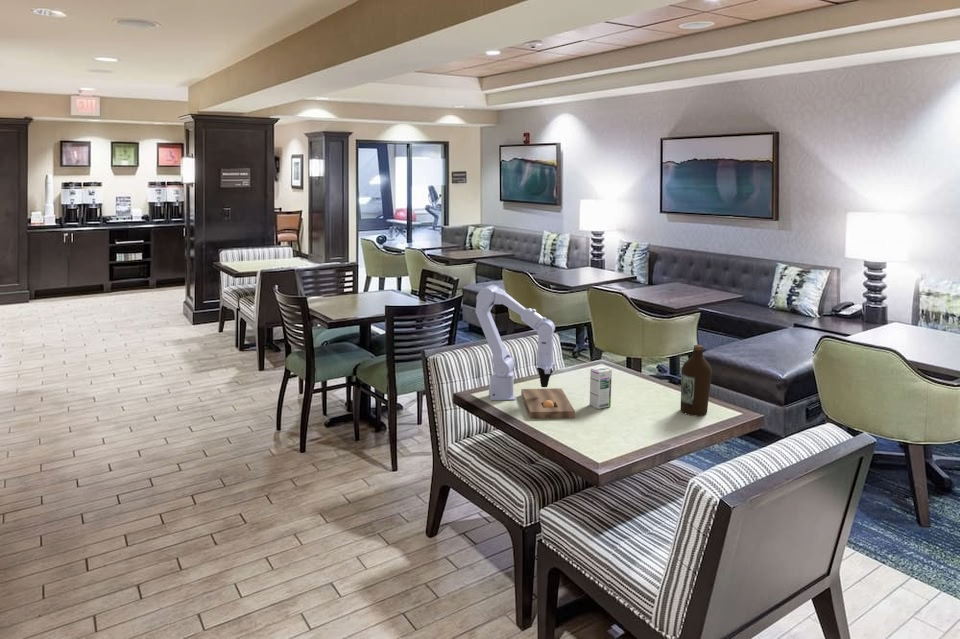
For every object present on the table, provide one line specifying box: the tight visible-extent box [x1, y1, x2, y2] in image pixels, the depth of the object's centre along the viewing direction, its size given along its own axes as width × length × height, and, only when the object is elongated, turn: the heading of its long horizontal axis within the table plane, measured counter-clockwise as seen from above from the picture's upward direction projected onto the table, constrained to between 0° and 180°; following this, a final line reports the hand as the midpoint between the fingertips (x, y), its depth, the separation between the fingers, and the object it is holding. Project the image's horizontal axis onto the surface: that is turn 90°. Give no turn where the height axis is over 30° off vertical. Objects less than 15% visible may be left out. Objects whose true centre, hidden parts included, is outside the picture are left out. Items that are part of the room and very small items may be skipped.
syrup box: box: [589, 366, 613, 410], centre depth 252 cm, size 6×6×14 cm
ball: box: [543, 400, 554, 408], centre depth 248 cm, size 4×4×4 cm
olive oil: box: [679, 344, 713, 416], centre depth 245 cm, size 11×11×25 cm
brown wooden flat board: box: [520, 387, 576, 419], centre depth 253 cm, size 16×26×2 cm, turn 4°
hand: (544, 386), depth 257 cm, fingers closed
